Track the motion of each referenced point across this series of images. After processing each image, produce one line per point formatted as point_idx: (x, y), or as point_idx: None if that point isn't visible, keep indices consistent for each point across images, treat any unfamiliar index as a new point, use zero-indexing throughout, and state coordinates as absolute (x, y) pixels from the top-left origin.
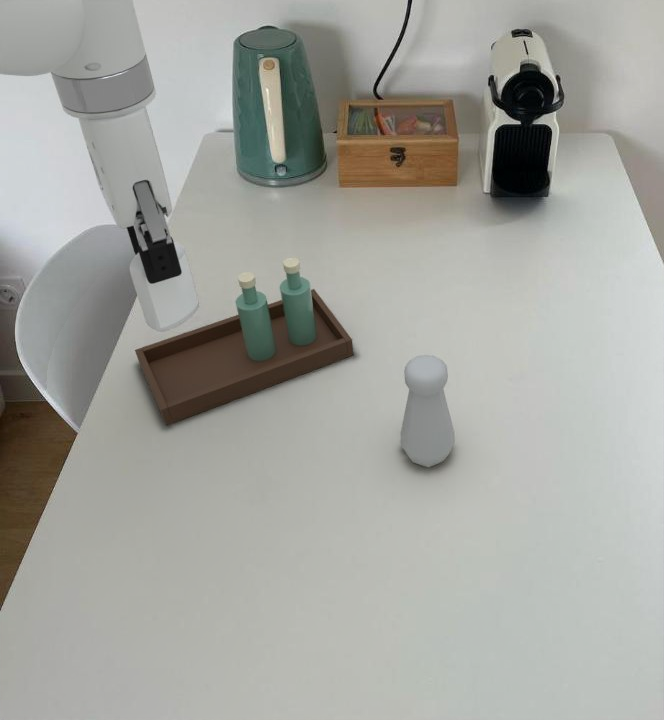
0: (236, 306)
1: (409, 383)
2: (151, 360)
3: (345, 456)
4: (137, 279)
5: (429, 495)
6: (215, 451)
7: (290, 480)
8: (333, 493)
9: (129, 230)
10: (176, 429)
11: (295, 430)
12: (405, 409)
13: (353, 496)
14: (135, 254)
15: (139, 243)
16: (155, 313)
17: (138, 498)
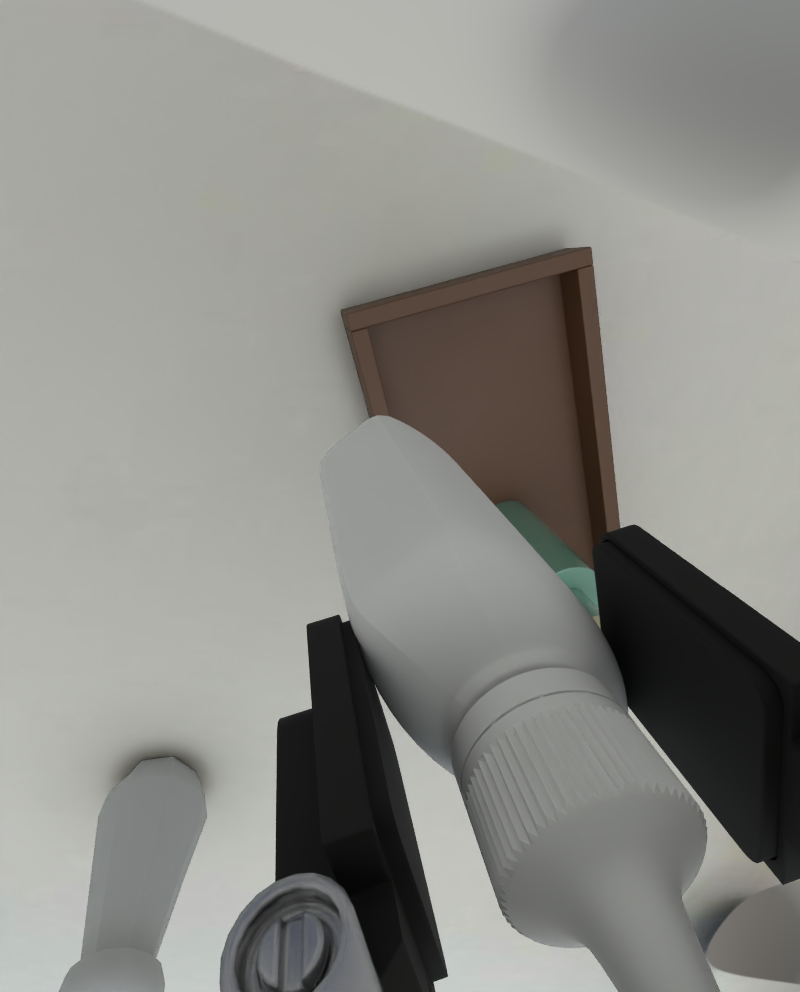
0: (564, 565)
1: (75, 982)
2: (562, 282)
3: (175, 659)
4: (374, 549)
5: (58, 778)
6: (235, 420)
7: (125, 564)
8: (80, 636)
9: (729, 655)
10: (323, 334)
11: (264, 578)
12: (151, 850)
13: (68, 667)
14: (612, 536)
15: (343, 915)
16: (325, 502)
17: (111, 235)
